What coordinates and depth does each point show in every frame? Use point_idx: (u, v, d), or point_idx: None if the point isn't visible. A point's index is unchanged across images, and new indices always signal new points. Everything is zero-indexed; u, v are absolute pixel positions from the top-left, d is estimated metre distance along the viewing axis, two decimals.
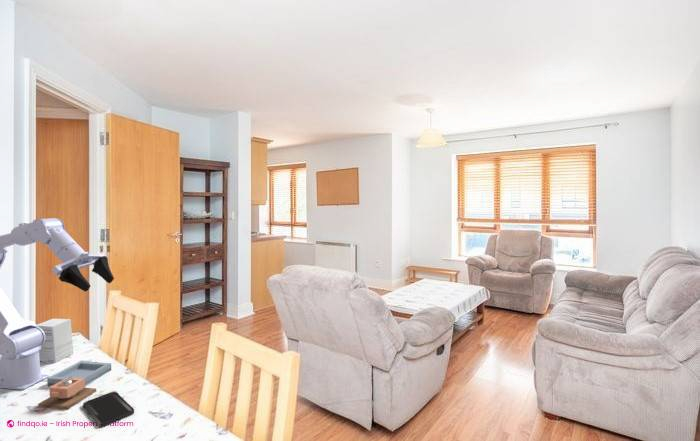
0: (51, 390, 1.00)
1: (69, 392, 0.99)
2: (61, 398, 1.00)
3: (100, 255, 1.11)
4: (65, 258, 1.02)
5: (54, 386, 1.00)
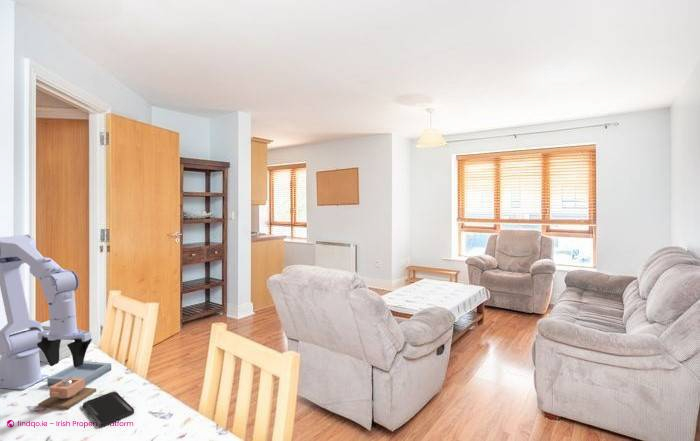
0: (51, 390, 1.00)
1: (69, 392, 0.99)
2: (61, 398, 1.00)
3: (80, 336, 0.99)
4: None
5: (54, 386, 1.00)
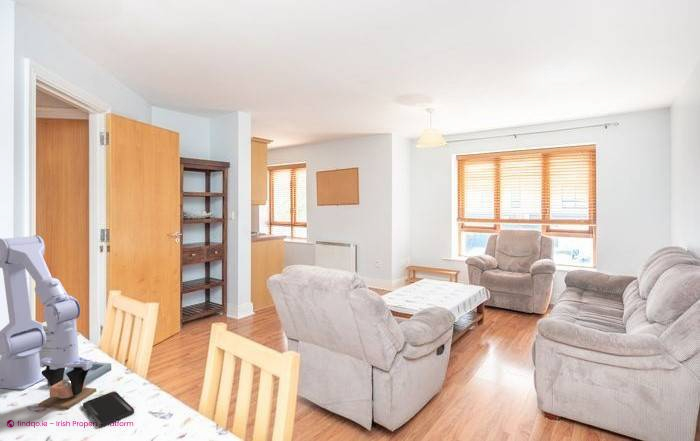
0: (51, 390, 1.00)
1: (69, 392, 0.99)
2: (61, 398, 1.00)
3: (82, 365, 0.99)
4: None
5: (54, 386, 1.00)
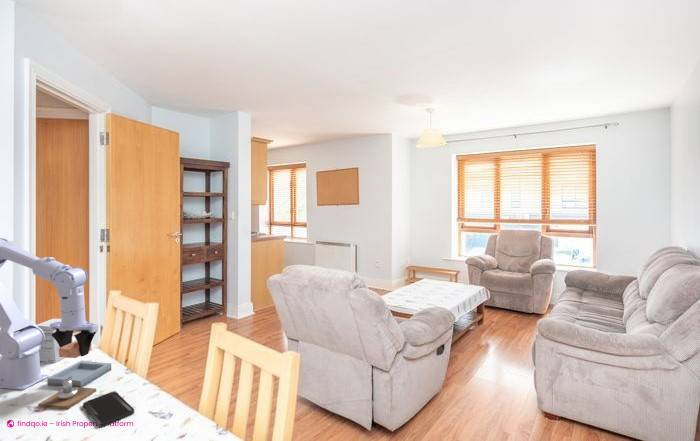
0: (60, 351, 1.08)
1: (77, 353, 1.08)
2: (61, 398, 1.00)
3: (88, 328, 1.08)
4: None
5: (63, 347, 1.08)
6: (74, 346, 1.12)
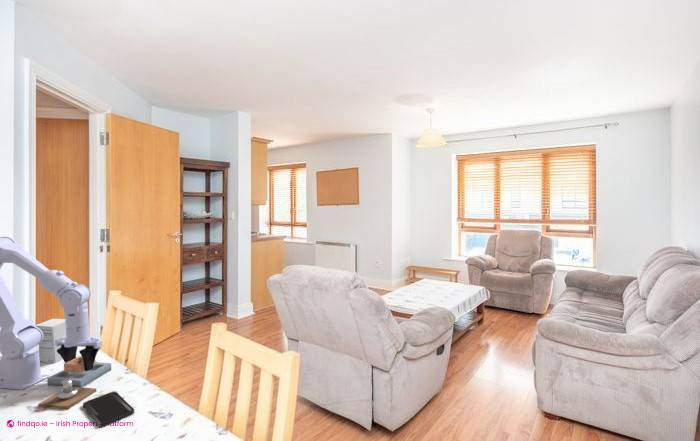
0: (65, 366, 1.11)
1: (82, 368, 1.11)
2: (61, 398, 1.00)
3: (93, 343, 1.11)
4: None
5: (68, 363, 1.12)
6: (78, 361, 1.15)
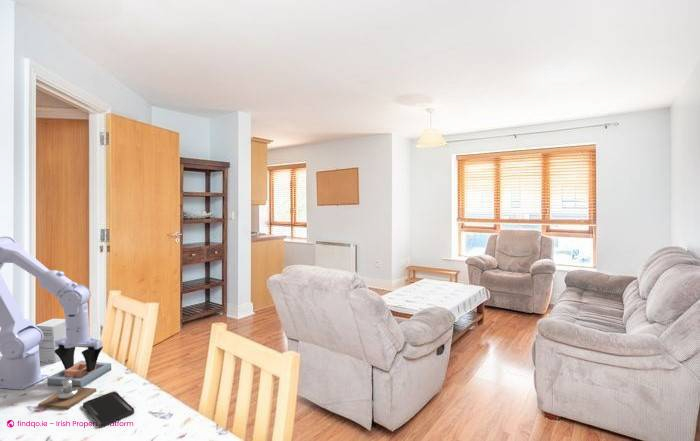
0: (66, 373, 1.12)
1: (82, 375, 1.11)
2: (61, 398, 1.00)
3: (93, 344, 1.11)
4: None
5: (69, 369, 1.12)
6: (79, 368, 1.16)
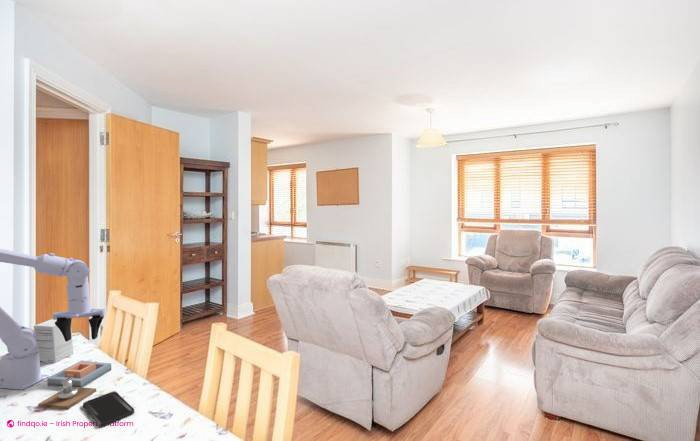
0: (66, 373, 1.12)
1: (82, 375, 1.11)
2: (61, 398, 1.00)
3: (99, 312, 1.19)
4: None
5: (69, 369, 1.12)
6: (79, 368, 1.16)
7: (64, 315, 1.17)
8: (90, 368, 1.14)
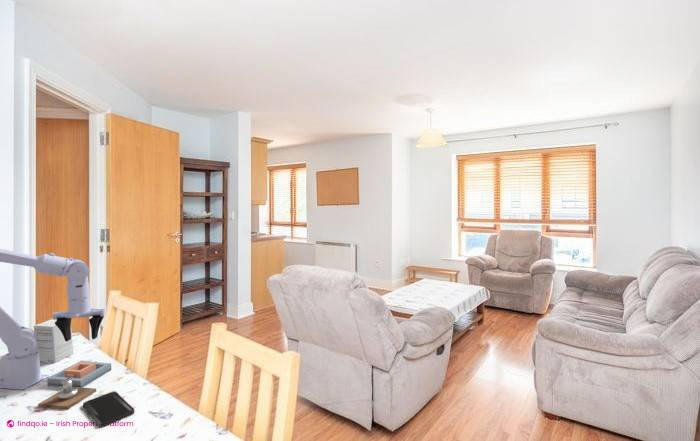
0: (66, 373, 1.12)
1: (82, 375, 1.11)
2: (61, 398, 1.00)
3: (99, 312, 1.20)
4: None
5: (69, 369, 1.12)
6: (79, 368, 1.16)
7: (64, 315, 1.17)
8: (90, 368, 1.14)
